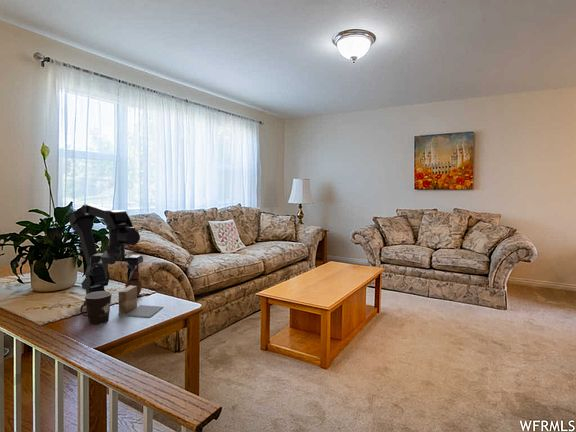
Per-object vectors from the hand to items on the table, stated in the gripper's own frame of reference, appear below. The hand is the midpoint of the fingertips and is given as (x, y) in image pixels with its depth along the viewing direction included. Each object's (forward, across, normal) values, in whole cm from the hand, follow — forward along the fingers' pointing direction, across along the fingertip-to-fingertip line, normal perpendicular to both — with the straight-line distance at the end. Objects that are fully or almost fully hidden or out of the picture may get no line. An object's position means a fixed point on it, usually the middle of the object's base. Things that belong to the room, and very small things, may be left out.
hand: (117, 279), depth 139 cm
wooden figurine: (+12, -1, +17) cm, 21 cm away
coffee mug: (+12, -1, -14) cm, 19 cm away
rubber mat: (+12, +12, -2) cm, 17 cm away
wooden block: (+12, +5, -2) cm, 13 cm away
